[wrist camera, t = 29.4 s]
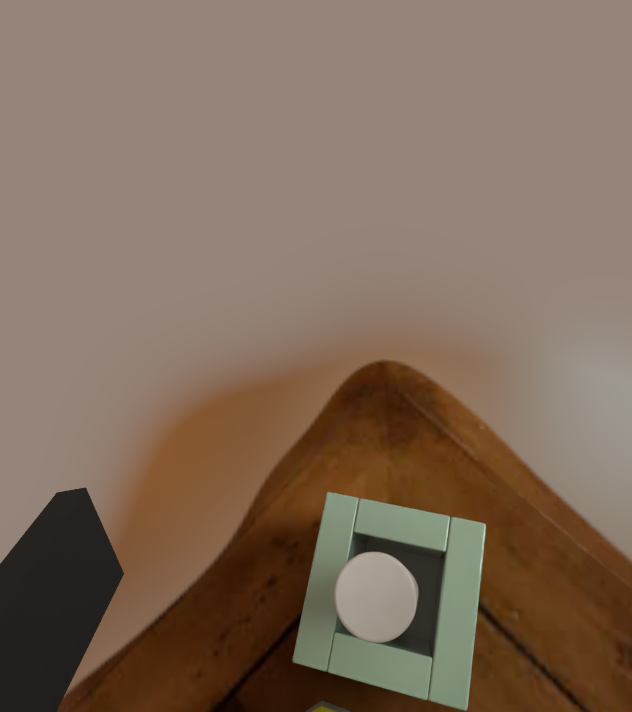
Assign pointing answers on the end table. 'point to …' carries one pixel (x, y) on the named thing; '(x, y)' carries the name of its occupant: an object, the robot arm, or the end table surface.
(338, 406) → the end table surface
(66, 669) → the robot arm
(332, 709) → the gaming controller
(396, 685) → the pen holder
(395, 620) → the white peg
